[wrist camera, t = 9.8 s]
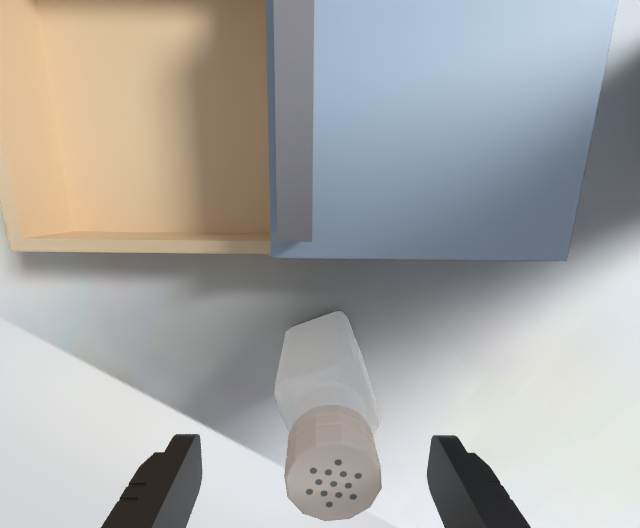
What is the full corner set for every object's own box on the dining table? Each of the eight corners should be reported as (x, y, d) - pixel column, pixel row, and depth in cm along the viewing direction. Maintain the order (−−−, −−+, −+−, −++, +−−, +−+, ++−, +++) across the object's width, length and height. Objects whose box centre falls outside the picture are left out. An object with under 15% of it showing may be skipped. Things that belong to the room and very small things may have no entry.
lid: (622, -91, 11) (738, -199, 8) (555, 258, 14) (623, 275, 11) (265, -104, 11) (246, -222, 8) (272, 255, 14) (260, 272, 11)
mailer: (302, -24, 15) (299, -95, 11) (302, 243, 17) (299, 254, 14) (27, -33, 14) (-66, -108, 11) (73, 240, 17) (10, 251, 14)
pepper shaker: (343, 304, 18) (372, 414, 9) (363, 359, 19) (410, 510, 10) (282, 326, 19) (251, 455, 9) (306, 379, 19) (298, 545, 10)
